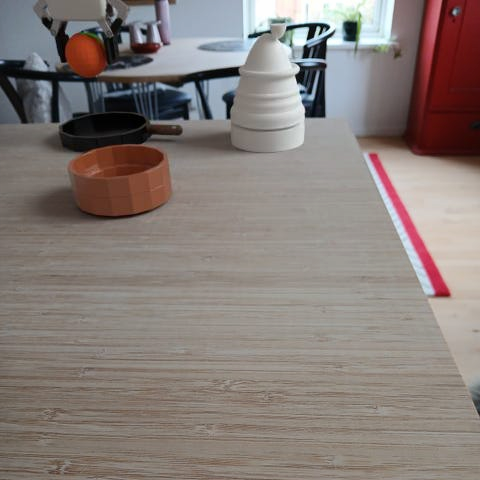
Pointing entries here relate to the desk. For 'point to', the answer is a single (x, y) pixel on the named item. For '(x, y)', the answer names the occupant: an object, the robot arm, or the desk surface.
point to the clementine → (86, 54)
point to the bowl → (120, 179)
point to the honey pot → (268, 99)
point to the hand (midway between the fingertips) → (89, 61)
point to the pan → (111, 130)
